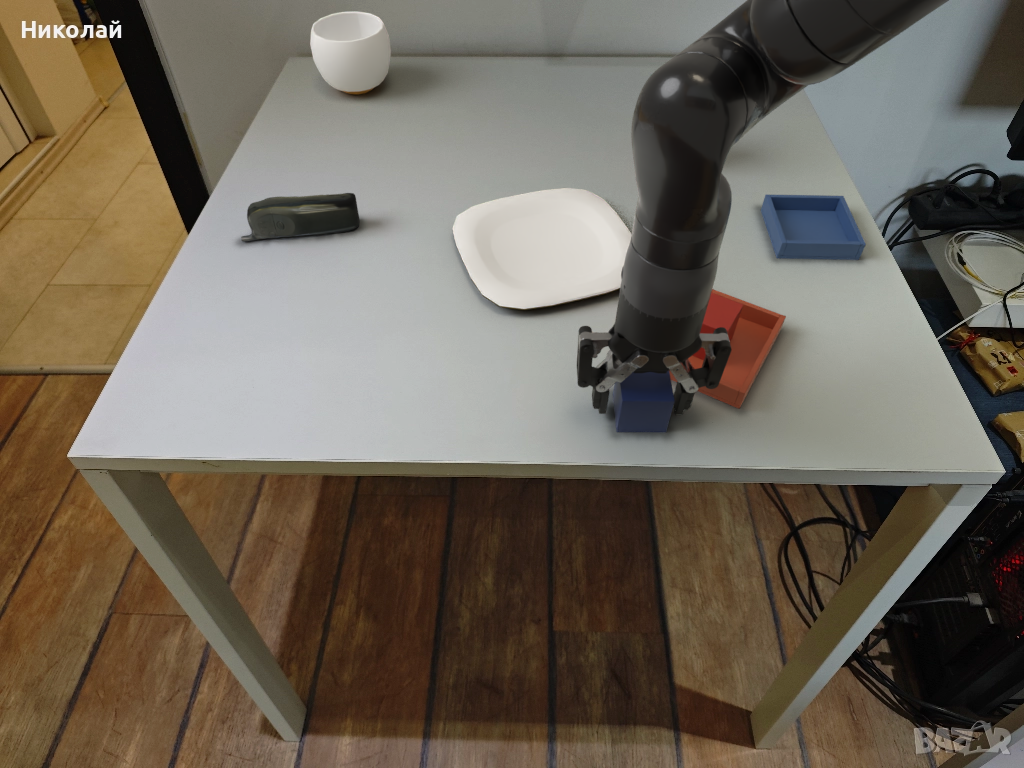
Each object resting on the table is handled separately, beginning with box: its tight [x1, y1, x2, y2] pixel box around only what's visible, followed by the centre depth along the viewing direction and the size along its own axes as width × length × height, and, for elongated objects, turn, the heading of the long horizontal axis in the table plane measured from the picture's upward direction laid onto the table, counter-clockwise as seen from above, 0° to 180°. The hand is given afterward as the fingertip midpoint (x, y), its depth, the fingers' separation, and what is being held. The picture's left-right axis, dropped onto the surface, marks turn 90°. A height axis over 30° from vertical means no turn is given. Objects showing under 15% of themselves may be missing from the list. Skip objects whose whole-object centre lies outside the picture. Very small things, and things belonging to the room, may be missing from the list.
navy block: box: [612, 371, 675, 433], centre depth 72 cm, size 5×5×5 cm
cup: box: [309, 10, 392, 95], centre depth 115 cm, size 12×12×10 cm
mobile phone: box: [240, 192, 360, 242], centre depth 92 cm, size 5×3×15 cm
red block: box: [692, 293, 743, 360], centre depth 78 cm, size 5×5×5 cm
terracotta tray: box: [669, 288, 787, 409], centre depth 79 cm, size 13×13×2 cm
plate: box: [452, 187, 632, 311], centre depth 90 cm, size 22×22×2 cm
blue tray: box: [760, 193, 867, 261], centre depth 92 cm, size 10×10×2 cm
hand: (639, 407), depth 73 cm, fingers open, 7 cm apart
